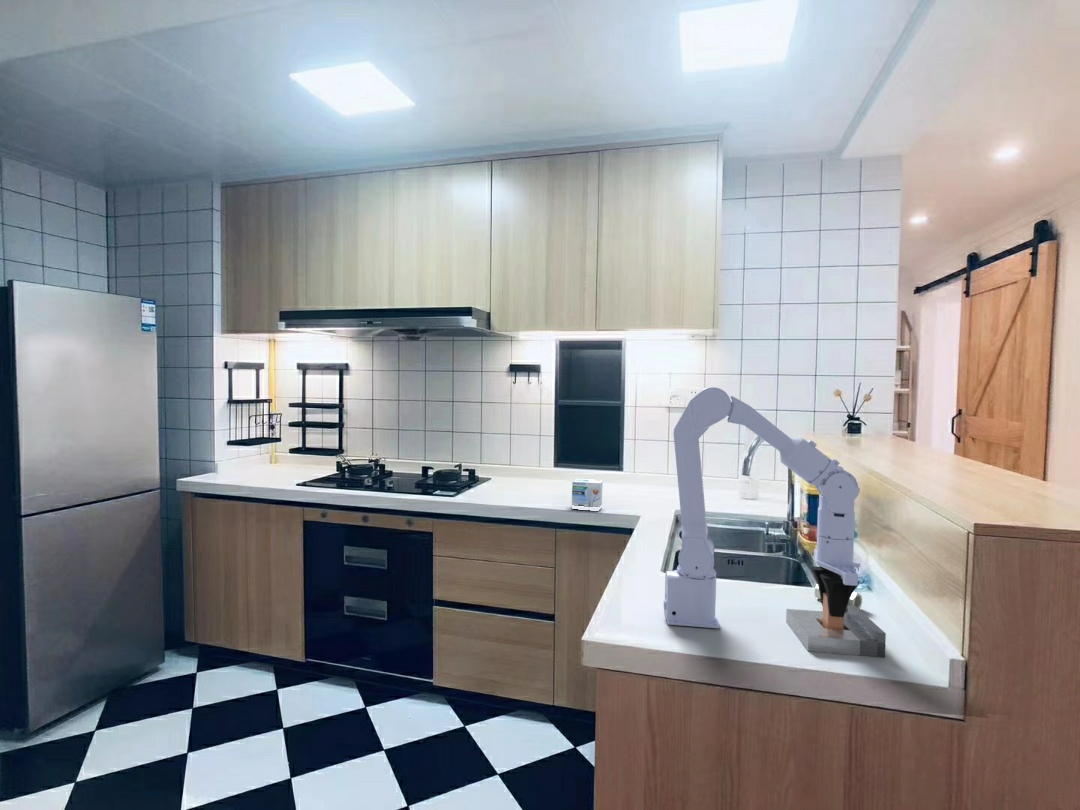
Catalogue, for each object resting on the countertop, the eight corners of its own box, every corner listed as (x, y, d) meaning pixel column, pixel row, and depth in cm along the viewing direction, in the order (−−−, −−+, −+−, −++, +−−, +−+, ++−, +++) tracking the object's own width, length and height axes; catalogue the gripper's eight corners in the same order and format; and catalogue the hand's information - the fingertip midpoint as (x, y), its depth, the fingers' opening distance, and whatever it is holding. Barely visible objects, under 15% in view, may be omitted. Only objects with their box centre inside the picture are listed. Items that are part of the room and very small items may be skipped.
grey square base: (807, 651, 92) (808, 627, 92) (786, 621, 104) (786, 600, 104) (885, 657, 90) (885, 633, 90) (853, 627, 102) (854, 605, 102)
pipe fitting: (844, 619, 107) (862, 609, 111) (843, 599, 107) (862, 590, 111) (805, 605, 114) (823, 596, 118) (805, 586, 114) (823, 579, 117)
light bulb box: (571, 510, 201) (571, 480, 201) (574, 506, 207) (574, 478, 207) (600, 512, 198) (600, 482, 198) (602, 508, 205) (602, 479, 205)
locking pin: (827, 632, 96) (828, 597, 96) (822, 625, 98) (823, 592, 98) (843, 633, 95) (844, 599, 95) (837, 627, 98) (838, 593, 98)
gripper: (879, 548, 89) (876, 631, 89) (842, 527, 103) (840, 598, 103) (832, 546, 90) (830, 628, 90) (803, 525, 104) (801, 596, 104)
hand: (833, 612), depth 97 cm, fingers closed on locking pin, 3 cm apart
